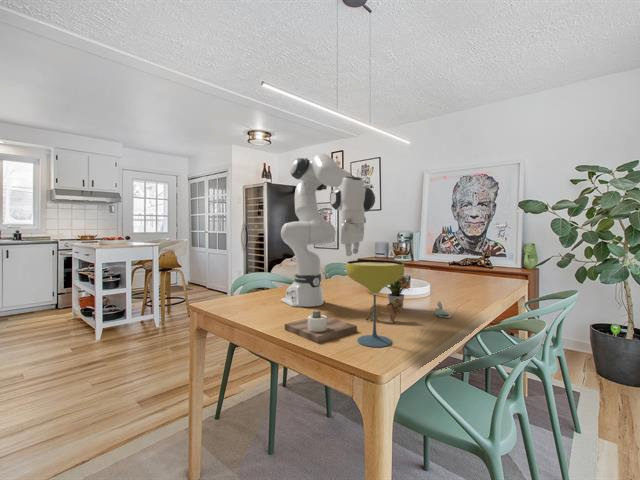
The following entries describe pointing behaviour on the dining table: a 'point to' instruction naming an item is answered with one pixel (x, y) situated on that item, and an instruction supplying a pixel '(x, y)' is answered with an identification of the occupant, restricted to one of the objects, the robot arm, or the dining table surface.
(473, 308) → the dining table surface
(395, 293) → the house plant
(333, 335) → the board
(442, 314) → the pacifier
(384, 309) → the lion figurine
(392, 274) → the cocktail glass
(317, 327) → the white hollow tube
